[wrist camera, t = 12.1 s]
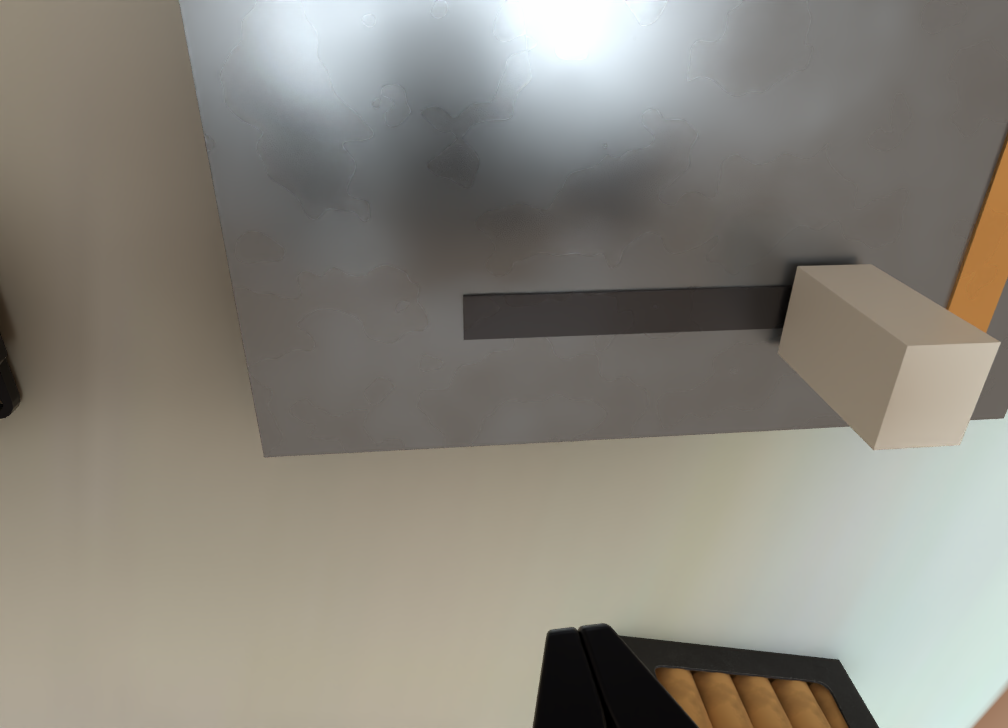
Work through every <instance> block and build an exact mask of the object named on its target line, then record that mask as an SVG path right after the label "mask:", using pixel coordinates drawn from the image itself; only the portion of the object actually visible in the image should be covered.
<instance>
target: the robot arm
mask: <svg viewBox="0 0 1008 728" xmlns="http://www.w3.org/2000/svg"><path fill="white" fill-rule="evenodd" d="M6 356H7V350H6V348H5V345H4V342H3V340H2V337H1V334H0V400H1V401H2V403H3V404H0V419H2V418H6V417H7V416H9V415H10V414H11V413H12V412H13V411H14V410H15V409H16V408H17V407H18V406H19V403H20V395H19V392H18V389H17V387H16V384H15V381H14V379H13V376H12V373H11V371H10V368H9V365H8V363H7V360H6ZM533 728H699V727H698V726H697V724H696V723H695V722H694V721H693V720H692V719H691V718H690V716H689V715H688V714H687V713H686V712H685V711H684V710H683V708H682V707H681V706H680V705H679V704H678V703H677V702H676V700H675V699H674V698H673V697H672V696H671V695H670V694H669V692H668V691H667V690H666V689H665V688H664V687H663V686H662V684H661V683H660V682H659V681H658V680H657V679H656V678H655V676H654V675H653V674H652V673H651V672H650V671H649V670H648V668H647V667H646V666H645V665H644V664H643V663H642V662H641V660H640V659H639V658H638V657H637V656H636V655H635V654H634V652H633V651H632V650H631V649H630V648H629V647H628V646H627V644H626V643H625V642H624V641H623V640H622V639H621V638H620V636H619V635H618V634H617V633H616V632H615V631H614V630H613V629H612V628H611V626H609V625H607V624H605V623H600V624H592V625H584V626H581V627H580V628H579V629H578V631H577V629H576V628H574V627H569V628H561V629H553V630H550V631H548V633H547V636H546V642H545V648H544V655H543V662H542V668H541V675H540V682H539V688H538V695H537V702H536V708H535V715H534V722H533Z"/></svg>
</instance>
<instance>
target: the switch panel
mask: <svg viewBox="0 0 1008 728" xmlns="http://www.w3.org/2000/svg"><path fill="white" fill-rule="evenodd" d="M179 4H180V9H181V15H182V20H183V25H184V31H185V36H186V41H187V47H188V52H189V57H190V63H191V68H192V73H193V79H194V84H195V89H196V95H197V100H198V105H199V111H200V116H201V122H202V127H203V132H204V138H205V143H206V148H207V154H208V159H209V164H210V170H211V175H212V180H213V186H214V191H215V196H216V202H217V207H218V212H219V218H220V223H221V228H222V234H223V239H224V244H225V250H226V255H227V261H228V266H229V271H230V277H231V282H232V287H233V293H234V298H235V303H236V309H237V314H238V319H239V325H240V330H241V335H242V341H243V346H244V351H245V357H246V362H247V367H248V373H249V378H250V384H251V389H252V394H253V400H254V405H255V410H256V416H257V421H258V426H259V432H260V437H261V442H262V448H263V453H264V457H277V456H296V455H315V454H334V453H353V452H372V451H391V450H410V449H429V448H448V447H467V446H486V445H505V444H525V443H544V442H563V441H582V440H601V439H620V438H639V437H658V436H677V435H696V434H715V433H734V432H753V431H772V430H791V429H810V428H829V427H848V426H849V425H848V424H847V423H846V422H845V421H844V420H843V419H842V418H841V417H840V416H839V415H838V414H837V413H836V412H835V411H834V410H833V409H832V408H831V407H830V406H829V405H828V404H827V403H826V402H825V401H824V400H823V399H822V398H821V397H820V396H819V395H818V394H817V393H816V392H815V391H814V390H813V389H812V388H811V387H810V386H809V385H808V384H807V383H806V382H805V381H804V380H803V379H802V378H801V377H800V375H799V374H798V373H797V372H796V371H795V370H794V369H793V368H792V367H791V366H790V365H789V364H788V363H787V362H786V361H785V360H784V359H783V358H782V357H781V356H780V355H779V354H778V349H779V344H780V340H781V336H782V331H783V327H784V323H785V318H786V314H787V310H788V305H789V301H790V296H791V292H792V288H793V283H794V279H795V275H796V270H797V266H820V265H858V264H872V265H874V266H875V267H877V268H879V269H880V270H882V271H884V272H885V273H887V274H889V275H890V276H892V277H893V278H895V279H897V280H898V281H900V282H902V283H903V284H905V285H907V286H908V287H910V288H912V289H913V290H915V291H917V292H918V293H920V294H922V295H923V296H925V297H927V298H928V299H930V300H932V301H933V302H935V303H937V304H938V305H940V306H942V307H943V308H945V309H947V310H948V311H950V312H952V313H953V314H955V315H957V316H958V317H960V318H962V319H963V320H965V321H967V322H968V323H970V324H972V325H973V326H975V327H976V328H978V329H980V330H981V331H983V332H985V333H986V334H988V335H990V336H991V337H993V338H995V339H996V340H998V341H1000V342H1001V343H1000V346H999V348H998V351H997V353H996V356H995V358H994V361H993V363H992V366H991V368H990V371H989V373H988V376H987V378H986V381H985V383H984V386H983V388H982V391H981V393H980V396H979V398H978V401H977V403H976V406H975V408H974V411H973V413H972V416H971V418H970V420H981V419H1000V418H1004V416H1005V414H1006V412H1007V409H1008V0H179Z"/></svg>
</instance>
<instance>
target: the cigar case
mask: <svg viewBox="0 0 1008 728" xmlns="http://www.w3.org/2000/svg"><path fill="white" fill-rule="evenodd" d="M620 638H621V639H622V640H623V641H624V642H625V643H626V644H627V646H628V647H629V648H630V649H631V650H632V651H633V652H634V654H635V655H636V656H637V657H638V658H639V659H640V660H641V662H642V663H643V664H644V665H645V666H646V667H647V668H648V670H649V671H650V672H651V673H652V674H653V675H654V676H655V678H656V679H657V680H658V681H659V682H660V683H661V684H662V686H663V687H664V688H665V689H666V690H667V691H668V692H669V694H670V695H671V696H672V697H673V698H674V699H675V700H676V702H677V703H678V704H679V705H680V706H681V707H682V708H683V710H684V711H685V712H686V713H687V714H688V715H689V716H690V718H691V719H692V720H693V721H694V722H695V723H696V724H697V726H698V727H699V728H879V727H878V725H877V723H876V722H875V720H874V718H873V716H872V715H871V713H870V711H869V710H868V708H867V706H866V705H865V703H864V701H863V700H862V698H861V696H860V694H859V693H858V691H857V689H856V688H855V686H854V684H853V683H852V681H851V679H850V678H849V676H848V674H847V672H846V671H845V669H844V667H843V666H842V664H841V662H840V661H839V660H836V659H827V658H818V657H809V656H800V655H791V654H782V653H773V652H764V651H755V650H745V649H736V648H727V647H718V646H709V645H700V644H691V643H682V642H673V641H664V640H654V639H645V638H636V637H627V636H620Z"/></svg>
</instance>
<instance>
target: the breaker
mask: <svg viewBox="0 0 1008 728" xmlns="http://www.w3.org/2000/svg"><path fill="white" fill-rule="evenodd" d="M1000 343H1001V342H1000V341H998V340H996V339H995V338H993V337H991V336H990V335H988V334H986V333H985V332H983V331H981V330H980V329H978V328H976V327H975V326H973V325H972V324H970V323H968V322H967V321H965V320H963V319H962V318H960V317H958V316H957V315H955V314H953V313H952V312H950V311H948V310H947V309H945V308H943V307H942V306H940V305H938V304H937V303H935V302H933V301H932V300H930V299H928V298H927V297H925V296H923V295H922V294H920V293H918V292H917V291H915V290H913V289H912V288H910V287H908V286H907V285H905V284H903V283H902V282H900V281H898V280H897V279H895V278H893V277H892V276H890V275H889V274H887V273H885V272H884V271H882V270H880V269H879V268H877V267H875V266H874V265H872V264H858V265H820V266H797V270H796V275H795V279H794V283H793V288H792V292H791V296H790V301H789V305H788V310H787V314H786V318H785V323H784V327H783V331H782V336H781V340H780V344H779V349H778V354H779V355H780V356H781V357H782V358H783V359H784V360H785V361H786V362H787V363H788V364H789V365H790V366H791V367H792V368H793V369H794V370H795V371H796V372H797V373H798V374H799V375H800V377H801V378H802V379H803V380H804V381H805V382H806V383H807V384H808V385H809V386H810V387H811V388H812V389H813V390H814V391H815V392H816V393H817V394H818V395H819V396H820V397H821V398H822V399H823V400H824V401H825V402H826V403H827V404H828V405H829V406H830V407H831V408H832V409H833V410H834V411H835V412H836V413H837V414H838V415H839V416H840V417H841V418H842V419H843V420H844V421H845V422H846V423H847V424H848V425H849V426H850V427H851V428H852V429H853V430H854V431H855V432H856V433H857V434H858V435H859V436H860V437H861V438H862V439H863V440H864V441H865V442H866V443H867V444H868V445H869V446H870V447H871V448H872V449H873V450H882V449H900V448H918V447H936V446H953V445H960V443H961V441H962V438H963V436H964V433H965V431H966V428H967V426H968V423H969V421H970V418H971V416H972V413H973V411H974V408H975V406H976V403H977V401H978V398H979V396H980V393H981V391H982V388H983V386H984V383H985V381H986V378H987V376H988V373H989V371H990V368H991V366H992V363H993V361H994V358H995V356H996V353H997V351H998V348H999V346H1000Z"/></svg>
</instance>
